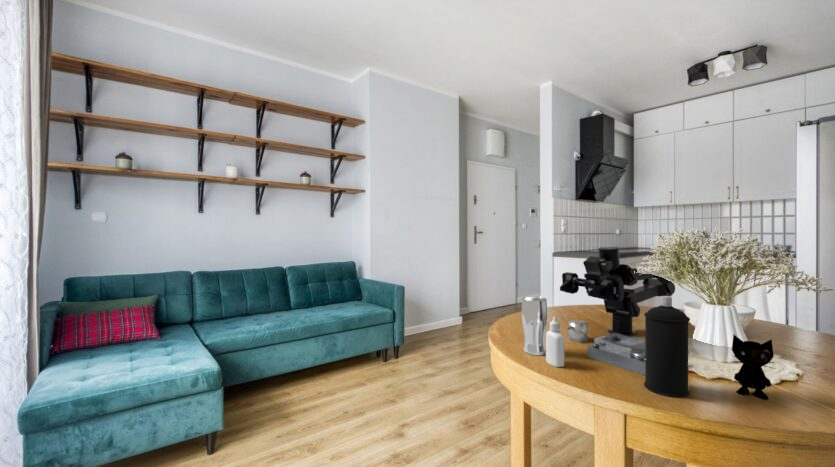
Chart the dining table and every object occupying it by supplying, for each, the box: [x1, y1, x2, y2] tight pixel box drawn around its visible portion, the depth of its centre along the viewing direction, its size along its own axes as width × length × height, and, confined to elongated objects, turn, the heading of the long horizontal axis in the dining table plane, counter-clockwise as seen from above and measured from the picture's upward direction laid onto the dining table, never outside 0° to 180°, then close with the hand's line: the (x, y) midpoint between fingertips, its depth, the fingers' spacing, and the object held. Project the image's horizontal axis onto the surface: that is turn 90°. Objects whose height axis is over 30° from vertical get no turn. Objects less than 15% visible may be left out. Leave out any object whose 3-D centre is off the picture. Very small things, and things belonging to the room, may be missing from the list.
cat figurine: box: [731, 334, 776, 401], centre depth 78 cm, size 7×7×12 cm
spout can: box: [565, 319, 589, 343], centre depth 116 cm, size 8×6×6 cm
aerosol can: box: [643, 296, 691, 398], centre depth 81 cm, size 8×8×20 cm
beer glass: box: [521, 296, 549, 356], centre depth 106 cm, size 7×7×15 cm
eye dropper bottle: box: [545, 316, 565, 368], centre depth 97 cm, size 4×6×12 cm
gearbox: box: [587, 333, 645, 376], centre depth 98 cm, size 14×16×4 cm
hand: (573, 291), depth 110 cm, fingers open, 9 cm apart
